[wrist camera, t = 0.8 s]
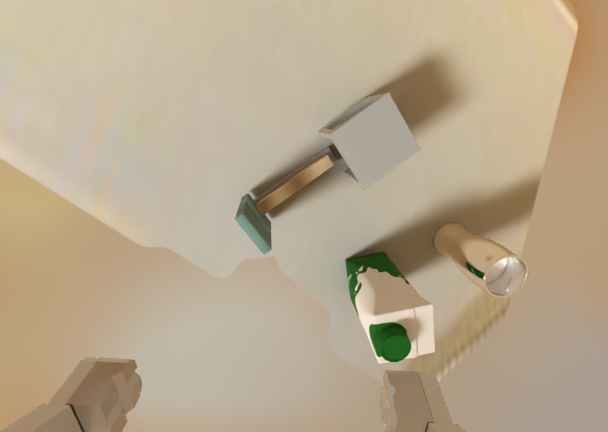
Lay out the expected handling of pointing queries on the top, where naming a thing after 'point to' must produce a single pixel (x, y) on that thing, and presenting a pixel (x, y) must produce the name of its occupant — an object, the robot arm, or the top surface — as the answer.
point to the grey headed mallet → (365, 142)
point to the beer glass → (482, 260)
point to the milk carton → (390, 309)
